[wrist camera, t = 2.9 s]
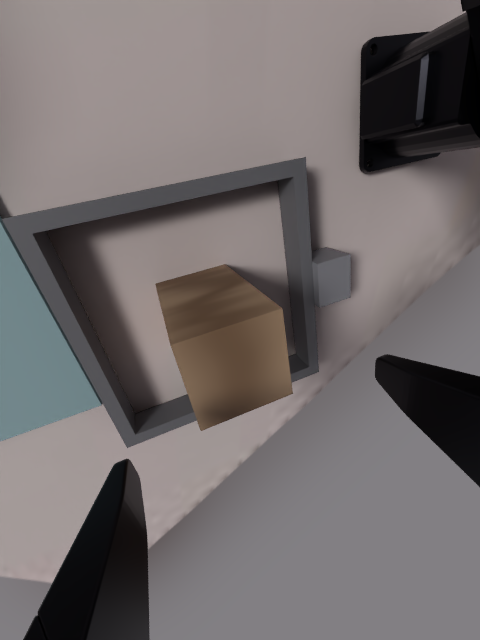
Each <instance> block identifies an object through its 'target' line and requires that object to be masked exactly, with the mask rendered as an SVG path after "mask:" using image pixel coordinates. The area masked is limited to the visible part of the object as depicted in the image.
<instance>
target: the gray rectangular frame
mask: <svg viewBox="0 0 480 640" xmlns="http://www.w3.org/2000/svg"><path fill="white" fill-rule="evenodd" d="M276 180H278V189H279V199H280V208H281V218H282V227H283V237H284V246H285V256H286V265H287V275H288V284H289V294H290V303H291V313H292V322H293V332H294V341H295V351H296V354H295V355H292V356H289V357H288V359H289V367H290V375H291V383H292V382H294V381H297V380H299V379H302V378H304V377H307V376H309V375H312V374H314V373H317V372H319V366H318V350H317V334H316V317H315V305H316V306H318V307H319V308H320V307H323V306H326V305H329V304H332V303H335V302H338V301H341V300H344V299H347V298H350V275H351V254H349V253H345V252H341V251H338V250H334V249H331V248H327V247H325V248H322V249H318V250H315V251H311V236H310V219H309V203H308V187H307V171H306V157H304V158H299V159H294V160H289V161H284V162H279V163H274V164H269V165H265V166H260V167H255V168H250V169H245V170H240V171H235V172H230V173H225V174H220V175H215V176H210V177H205V178H201V179H196V180H191V181H186V182H181V183H176V184H171V185H166V186H161V187H156V188H151V189H146V190H141V191H137V192H132V193H127V194H122V195H117V196H112V197H107V198H102V199H97V200H92V201H87V202H82V203H78V204H73V205H68V206H63V207H58V208H53V209H48V210H43V211H38V212H33V213H28V214H23V215H18V216H14V217H9V218H4V219H2V221H3V222H4V224H5V226H6V228H7V230H8V231H9V233H10V235H11V237H12V239H13V241H14V242H15V244H16V246H17V248H18V250H19V252H20V253H21V255H22V257H23V259H24V261H25V262H26V264H27V266H28V268H29V270H30V272H31V273H32V275H33V277H34V279H35V281H36V282H37V284H38V286H39V288H40V290H41V292H42V293H43V295H44V297H45V299H46V301H47V303H48V304H49V306H50V308H51V310H52V312H53V313H54V315H55V317H56V319H57V321H58V323H59V324H60V326H61V328H62V330H63V332H64V333H65V335H66V337H67V339H68V341H69V343H70V344H71V346H72V348H73V350H74V352H75V354H76V355H77V357H78V359H79V361H80V363H81V364H82V366H83V368H84V370H85V372H86V374H87V375H88V377H89V379H90V381H91V383H92V385H93V386H94V388H95V390H96V392H97V394H98V395H99V397H100V399H101V401H102V403H103V405H104V406H105V408H106V410H107V412H108V414H109V415H110V417H111V419H112V421H113V423H114V425H115V426H116V428H117V430H118V432H119V434H120V436H121V437H122V439H123V441H124V443H125V445H126V446H127V448H128V447H131V446H133V445H136V444H138V443H141V442H143V441H146V440H148V439H151V438H153V437H156V436H158V435H161V434H164V433H166V432H169V431H171V430H174V429H176V428H179V427H181V426H184V425H186V424H189V423H191V422H194V421H196V420H197V419H196V416H195V413H194V410H193V407H192V405H191V402H190V399H189V396H188V395H185V396H182V397H180V398H177V399H174V400H172V401H169V402H166V403H164V404H161V405H158V406H156V407H153V408H150V409H148V410H145V411H142V412H139V413H137V414H135V413H134V411H133V409H132V407H131V405H130V403H129V401H128V399H127V397H126V395H125V393H124V391H123V388H122V386H121V384H120V382H119V380H118V378H117V376H116V374H115V372H114V370H113V368H112V366H111V364H110V362H109V360H108V358H107V356H106V354H105V352H104V350H103V348H102V346H101V343H100V341H99V339H98V337H97V335H96V333H95V331H94V329H93V327H92V325H91V323H90V321H89V319H88V317H87V315H86V313H85V311H84V309H83V307H82V305H81V303H80V300H79V298H78V296H77V294H76V292H75V290H74V288H73V286H72V284H71V282H70V280H69V278H68V276H67V274H66V272H65V270H64V268H63V266H62V264H61V262H60V260H59V257H58V255H57V253H56V251H55V249H54V247H53V245H52V243H51V241H50V239H49V237H48V235H47V233H46V231H47V230H51V229H56V228H60V227H65V226H69V225H74V224H79V223H83V222H88V221H92V220H97V219H102V218H106V217H111V216H115V215H120V214H124V213H129V212H134V211H138V210H143V209H147V208H152V207H157V206H161V205H166V204H170V203H175V202H179V201H184V200H189V199H193V198H198V197H202V196H207V195H212V194H216V193H221V192H225V191H230V190H235V189H239V188H244V187H248V186H253V185H257V184H262V183H267V182H271V181H276Z"/></svg>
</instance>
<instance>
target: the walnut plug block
mask: <svg viewBox="0 0 480 640" xmlns="http://www.w3.org/2000/svg"><path fill="white" fill-rule="evenodd" d="M156 288H157V292H158V296H159V301H160V305H161V309H162V313H163V317H164V321H165V325H166V329H167V333H168V337H169V341H170V345H171V348H172V350H173V353H174V356H175V359H176V362H177V365H178V368H179V370H180V373H181V376H182V379H183V382H184V385H185V387H186V390H187V393H188V396H189V399H190V402H191V405H192V407H193V410H194V413H195V416H196V419H197V422H198V424H199V427H200V430H201V431H202V430H205V429H207V428H210V427H212V426H215V425H217V424H219V423H222V422H224V421H227V420H229V419H232V418H234V417H237V416H239V415H242V414H244V413H246V412H249V411H251V410H254V409H256V408H259V407H261V406H264V405H266V404H269V403H271V402H273V401H276V400H278V399H281V398H283V397H286V396H288V395H291V394H293V392H292V383H291V375H290V367H289V359H288V351H287V342H286V334H285V326H284V318H283V310H282V308H281V307H280V306H279V305H277V304H276V303H275V302H273V301H272V300H271V299H270V298H268V297H267V296H266V295H264V294H263V293H262V292H260V291H259V290H258V289H257V288H255V287H254V286H253V285H251V284H250V283H249V282H247V281H246V280H245V279H244V278H242V277H241V276H240V275H238V274H237V273H236V272H234V271H233V270H232V269H230V268H229V267H228V266H227V265H221V266H217V267H214V268H210V269H207V270H203V271H199V272H196V273H192V274H189V275H185V276H181V277H178V278H174V279H171V280H167V281H163V282H160V283H156Z"/></svg>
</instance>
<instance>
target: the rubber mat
mask: <svg viewBox="0 0 480 640" xmlns="http://www.w3.org/2000/svg"><path fill="white" fill-rule="evenodd" d="M100 405H102V401H101V399H100V397H99V395H98V394H97V392H96V390H95V388H94V386H93V385H92V383H91V381H90V379H89V377H88V375H87V374H86V372H85V370H84V368H83V366H82V364H81V363H80V361H79V359H78V357H77V355H76V354H75V352H74V350H73V348H72V346H71V344H70V343H69V341H68V339H67V337H66V335H65V333H64V332H63V330H62V328H61V326H60V324H59V323H58V321H57V319H56V317H55V315H54V313H53V312H52V310H51V308H50V306H49V304H48V303H47V301H46V299H45V297H44V295H43V293H42V292H41V290H40V288H39V286H38V284H37V282H36V281H35V279H34V277H33V275H32V273H31V272H30V270H29V268H28V266H27V264H26V262H25V261H24V259H23V257H22V255H21V253H20V252H19V250H18V248H17V246H16V244H15V242H14V241H13V239H12V237H11V235H10V233H9V231H8V230H7V228H6V226H5V224H4V222H3V221H2V218H1V216H0V441H3V440H5V439H8V438H11V437H14V436H17V435H19V434H22V433H25V432H28V431H31V430H33V429H36V428H39V427H42V426H45V425H47V424H50V423H53V422H56V421H59V420H61V419H64V418H67V417H70V416H73V415H75V414H78V413H81V412H84V411H86V410H89V409H92V408H95V407H98V406H100Z"/></svg>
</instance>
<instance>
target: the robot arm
mask: <svg viewBox="0 0 480 640" xmlns="http://www.w3.org/2000/svg"><path fill="white" fill-rule="evenodd" d="M461 5H462V10H463V11H466V13H464V14H462V15H460V16H458V17H457V18H455V19H453V20H451V21H449V22H447V23H445V24H444V25H442V26H440V27H438V28H436V29H434V30H433V31H431V32H421V33H412V34H402V35H392V36H383V37H374V38H372V39H370V40H368V41H367V42H366V43H365V44H364V45H363V47H362V51H361V90H360V151H359V167H360V170H361V171H362V172H371V171H376V170H380V169H384V168H389V167H393V166H398V165H402V164H406V163H411V162H415V161H419V160H424V159H428V158H432V157H436V156H438V155H439V154H440V153H441V152H447V151H455V150H462V149H470V148H477V147H480V0H461ZM370 47H371V49H372V55H371V53H370ZM367 161H369V165H368V166H367ZM375 378H376V380H377V381H378V383H379V384H380V385H381V386H382V387H383V389H384V390H385V391H386V392H387V393H388V394H389V396H390V397H391V398H392V399H393V400H394V402H395V403H396V404H397V405H398V406H399V407H400V409H401V410H402V411H403V412H404V413H405V414H406V415H407V416H408V417H409V418H410V419H411V420H412V421H413V422H414V423H415V424H416V425H417V426H418V427H419V428H420V429H421V430H422V431H423V432H424V433H425V434H426V435H427V436H428V437H429V438H430V439H431V440H432V441H433V442H434V443H435V444H436V445H437V446H438V447H439V448H440V449H441V450H442V451H443V452H444V453H446V454H447V455H448V456H449V457H450V458H451V459H452V460H453V461H454V462H455V463H456V464H457V465H458V466H459V467H460V468H461V469H462V470H463V471H464V472H465V473H466V474H467V475H468V476H469V477H470V478H471V479H472V480H473V481H474V482H475V483H476V484H477V485H478V486H479V487H480V376H475V375H471V374H467V373H463V372H459V371H455V370H451V369H447V368H442V367H438V366H434V365H430V364H426V363H421V362H417V361H413V360H409V359H405V358H401V357H397V356H392V355H388V354H387V355H383V356H381V357H378V358H377V359H376V363H375ZM148 596H149V594H148V543H147V529H146V521H145V513H144V505H143V498H142V490H141V482H140V478H139V475H138V473H137V471H136V470H135V468H134V466H133V464H132V462H131V461H130V460H129V459H125V460H122V461H120V462H118V463H116V464H114V466H113V467H112V469H111V471H110V473H109V475H108V477H107V479H106V481H105V483H104V485H103V487H102V488H101V490H100V492H99V494H98V496H97V498H96V500H95V502H94V504H93V506H92V508H91V510H90V512H89V514H88V516H87V517H86V519H85V521H84V523H83V525H82V527H81V529H80V531H79V533H78V535H77V537H76V539H75V541H74V543H73V544H72V546H71V548H70V550H69V552H68V554H67V556H66V558H65V560H64V562H63V564H62V566H61V568H60V570H59V572H58V573H57V575H56V577H55V579H54V581H53V583H52V585H51V587H50V589H49V591H48V593H47V595H46V597H45V599H44V600H43V602H42V604H41V606H40V608H39V610H38V615H37V616H35V618H34V620H33V621H32V623H31V625H30V627H29V629H28V631H27V633H26V635H25V637H24V639H23V640H149V597H148Z"/></svg>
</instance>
